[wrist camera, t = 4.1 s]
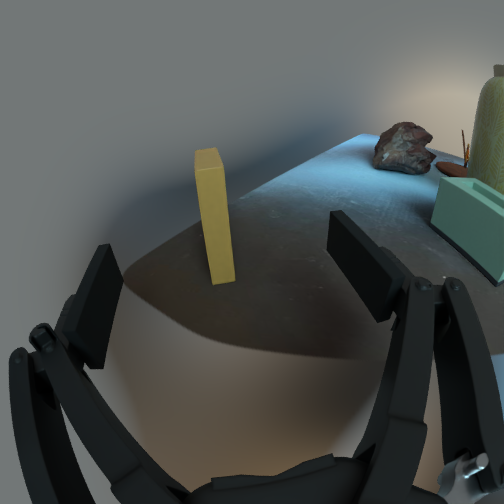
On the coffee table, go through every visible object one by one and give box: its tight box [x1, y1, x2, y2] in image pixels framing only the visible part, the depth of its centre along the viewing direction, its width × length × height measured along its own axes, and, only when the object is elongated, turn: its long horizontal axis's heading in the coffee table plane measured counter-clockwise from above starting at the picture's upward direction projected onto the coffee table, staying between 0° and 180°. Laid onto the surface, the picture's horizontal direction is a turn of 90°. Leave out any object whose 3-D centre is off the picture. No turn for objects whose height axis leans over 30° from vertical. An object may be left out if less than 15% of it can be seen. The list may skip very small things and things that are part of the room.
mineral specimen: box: [373, 122, 436, 174], centre depth 47 cm, size 12×13×15 cm
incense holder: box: [436, 130, 469, 178], centre depth 50 cm, size 21×30×11 cm
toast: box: [195, 148, 236, 285], centre depth 23 cm, size 7×2×10 cm, turn 11°
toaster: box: [430, 177, 504, 287], centre depth 23 cm, size 14×9×7 cm, turn 11°
